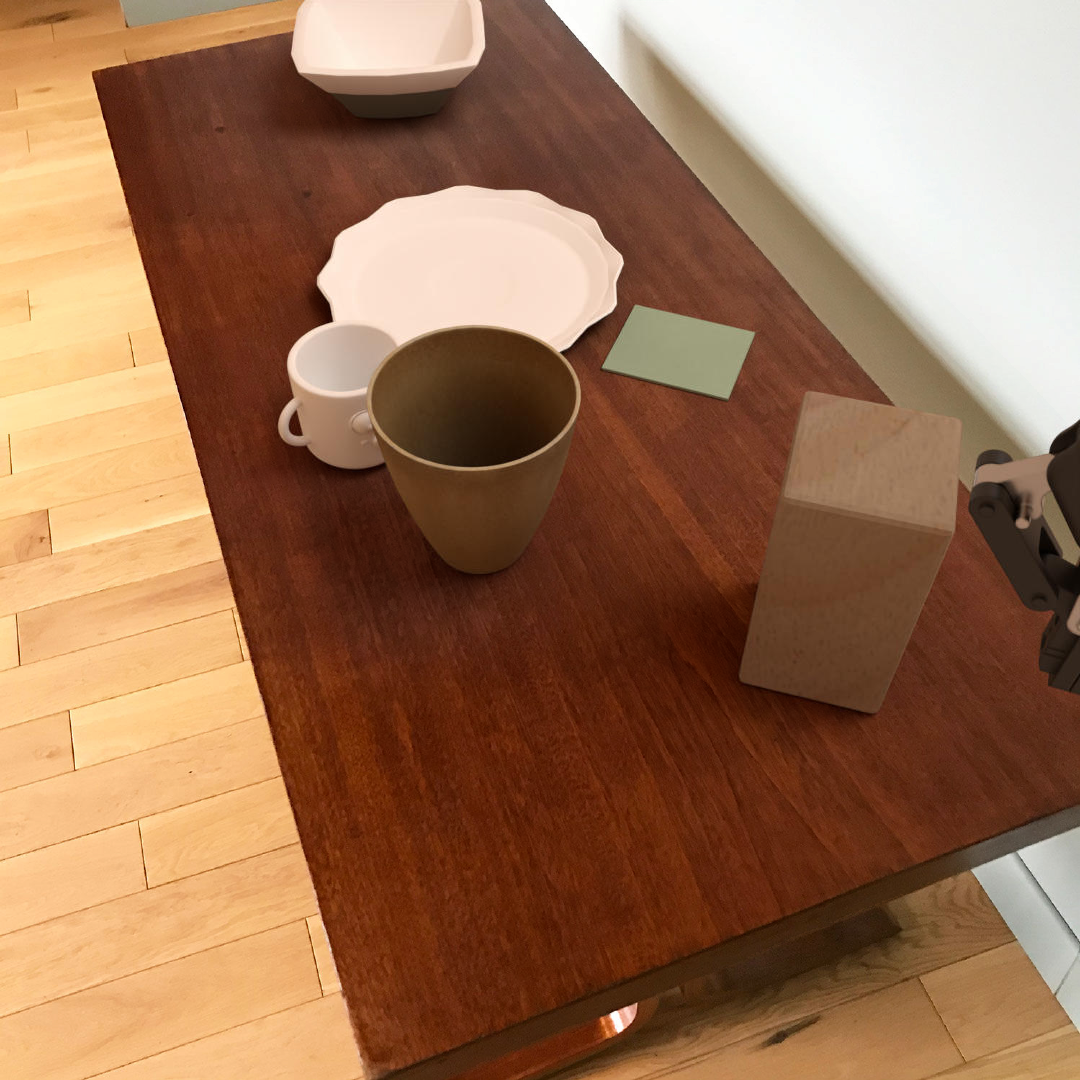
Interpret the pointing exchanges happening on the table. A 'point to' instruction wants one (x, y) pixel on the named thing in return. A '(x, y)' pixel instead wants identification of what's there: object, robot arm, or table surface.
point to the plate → (474, 266)
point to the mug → (336, 391)
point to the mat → (679, 352)
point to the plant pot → (475, 437)
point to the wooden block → (852, 549)
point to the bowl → (388, 52)
